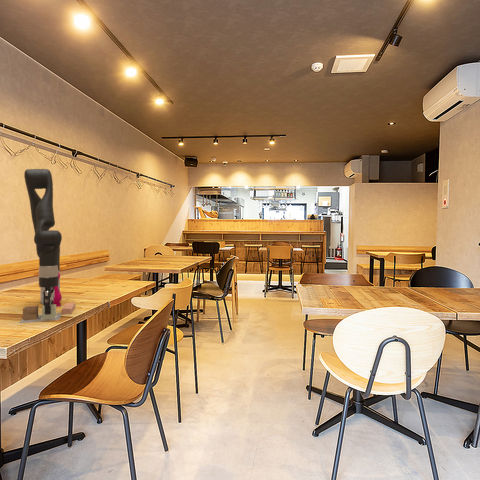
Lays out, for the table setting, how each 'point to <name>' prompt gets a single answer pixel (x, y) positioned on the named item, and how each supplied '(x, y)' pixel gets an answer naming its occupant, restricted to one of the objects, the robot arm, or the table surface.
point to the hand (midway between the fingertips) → (49, 311)
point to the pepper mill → (57, 294)
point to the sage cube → (53, 312)
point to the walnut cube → (30, 313)
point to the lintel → (68, 308)
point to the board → (42, 319)
